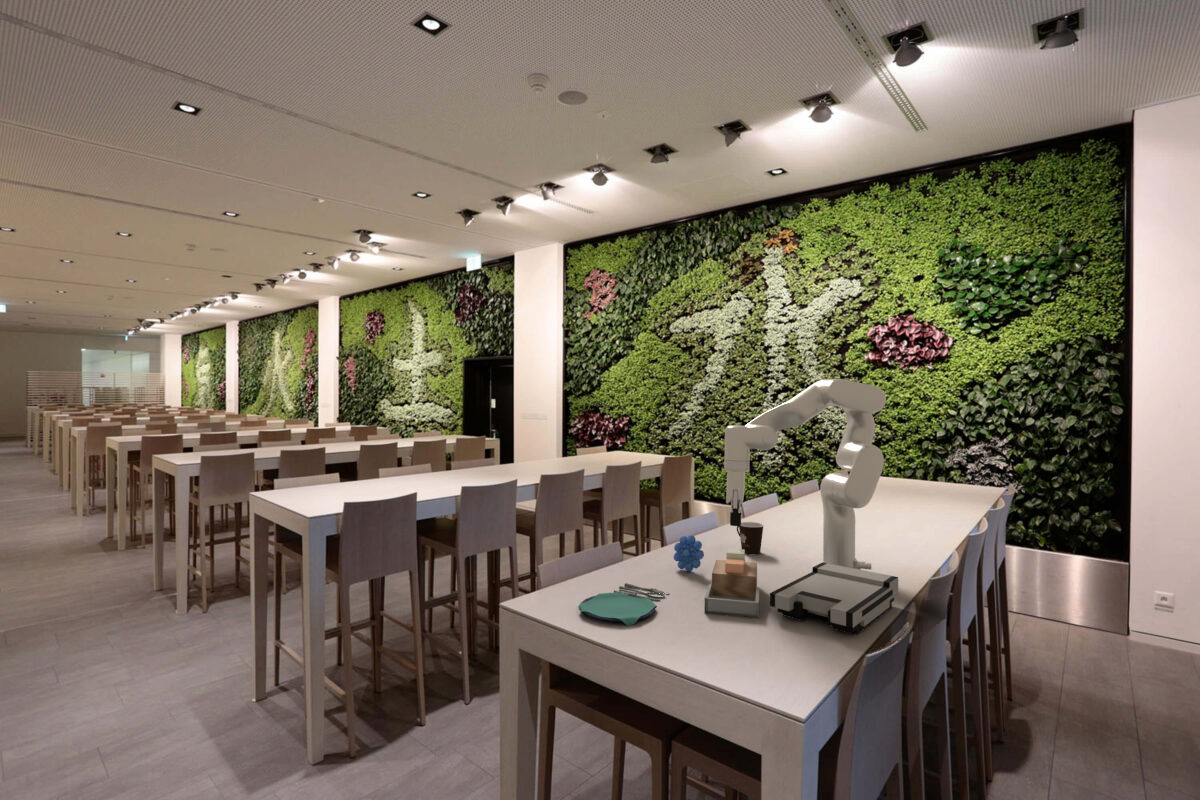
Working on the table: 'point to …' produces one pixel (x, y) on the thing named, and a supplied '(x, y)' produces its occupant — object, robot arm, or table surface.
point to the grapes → (688, 553)
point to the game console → (837, 596)
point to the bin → (731, 605)
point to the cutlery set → (621, 605)
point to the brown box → (734, 581)
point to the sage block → (736, 554)
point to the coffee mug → (751, 537)
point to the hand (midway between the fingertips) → (735, 525)
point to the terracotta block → (734, 566)
